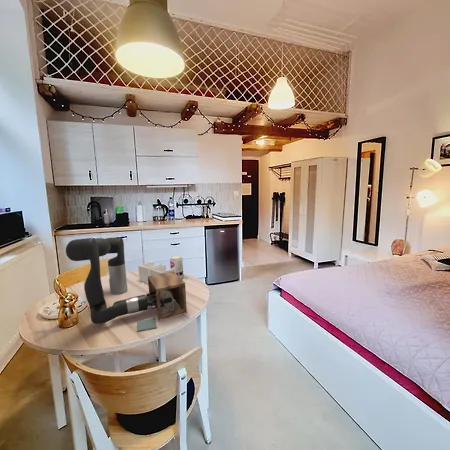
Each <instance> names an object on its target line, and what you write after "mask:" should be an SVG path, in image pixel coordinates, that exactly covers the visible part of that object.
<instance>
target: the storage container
mask: <svg viewBox="0 0 450 450" xmlns="http://www.w3.org/2000/svg"><path fill="white" fill-rule="evenodd" d="M137 268H138V276H139V277H138V278H139V279H138V280H139V281H140V282H142V281H143V282H142V283H144V282H145V284H147V285H148V276H151V275H157V274H162V273H167V272H172V271H174V272H175V273H176V268H175V267H174V268H173V269H171V268H170V269H167V264H163V263H160V264H157V265H154V261H153V260H151V261H147V262H145V263H144V262H143V263H141V264H138V265H137Z"/></svg>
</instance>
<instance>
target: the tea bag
mask: <svg viewBox="0 0 450 450" xmlns="http://www.w3.org/2000/svg"><path fill="white" fill-rule="evenodd" d="M159 297H160V299H166V298H172V302H170V303H166V304H164V307H160V310H164V311H166V312H169V311H173V310H175V309H174V308H175V306H174V305H175V304H174V303H175V302H174V299H173V296H172V295H171V292H170V291H167V290H162V291H160V294H159ZM160 302H161V301H160Z"/></svg>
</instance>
